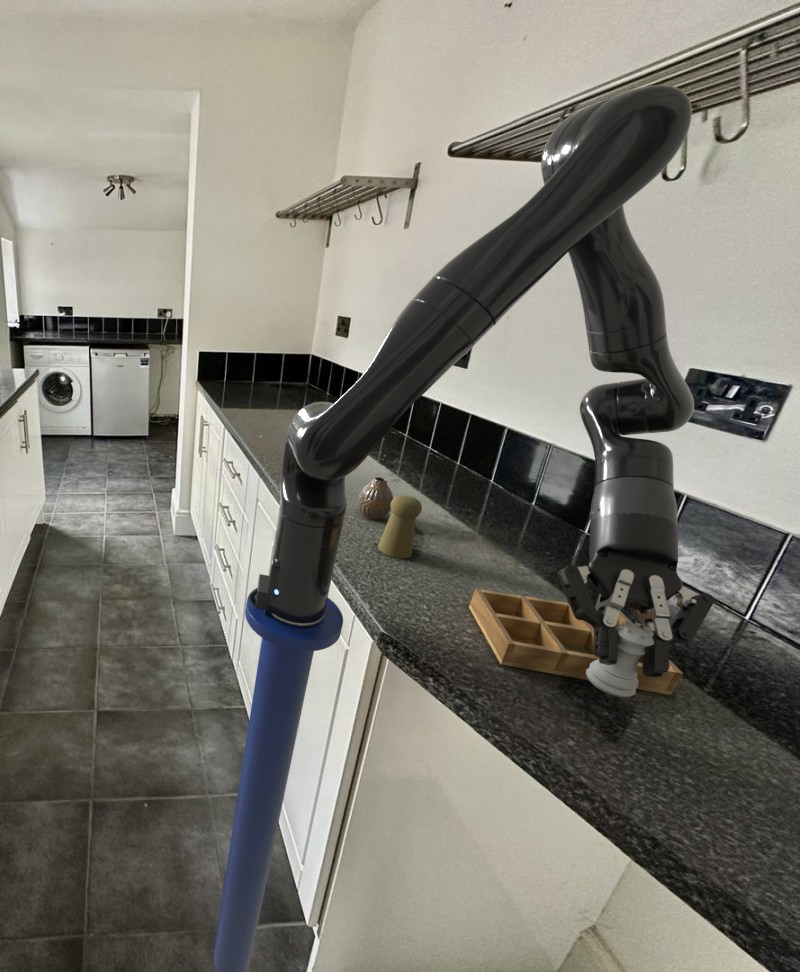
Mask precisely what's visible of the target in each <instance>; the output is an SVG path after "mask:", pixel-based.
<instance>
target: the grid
mask: <svg viewBox="0 0 800 972" xmlns="http://www.w3.org/2000/svg"><path fill="white" fill-rule="evenodd" d="M468 609H469V611H470V612H471V614H472V616H473V618H474V619H475V621H476V623H477V624H478V626H479V628H480V630H481V632H482V633H483V635H484V637H485V639H486V641H487V643H488V645H489V646H490V648H491V650H492V652H493V654H494V655H495V657H496V659H497V661H498V662H499V664H500V665H502V666H507V667H513V668H519V669H522V670H523V669H524V670H528V671H529V670H530V671H535V672H541V673H545V674H551V675H557V676H562V677H569V678H574V679H579V680H584V681H589V679H588V677H587V675H586V669H588V668H589V667H590V663H592V662H593V661H595V660H598V659H599V657H595V655H594V652H593V647H594V629H593V627H592V626H591V625H590V624H589V623H587V622H585V621H583V620H578V619H576V618H575V617H574V614H573V612H572V610H571V607H570V605H569V602H565V601H558V600H553V599H546V598H539V597H533V596H528V595H527V596H526V595H519V594H512V593H506V592H499V591H493V590H486V589H480V588H474V591H473V594H472V597H471V599H470V603H469V606H468ZM625 621H631V620H630V619H629V618H628V617H627V616H626V615H625V614H624V613H623V612H622V610H621V611H620V614H619V617H618V621H617V624H616V626H614V629H615V627H617V626H619V625H622V623H623V622H625ZM634 624H635V623H634V622H632V623H631V625H634ZM636 673H637V679H638V688H636V690H641V691H645V692H652V693H656V694H662V695H667V696H672V694H673V692H674V691H675V689H676V687H677V686H678V684H679V682H680V681H681V679H682V677H683V675H684V673H683V671H681V669H679V668H678V667H677V666H676V665H675V664H674V663H673V662H672V661H671V659H669V669H668V671H667V672H663V675H662V676H659V677H650V676H647V675H644V674H643V655H641V657H640V659H639V661H638V665H637V668H636Z"/></svg>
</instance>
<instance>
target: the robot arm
mask: <svg viewBox="0 0 800 972" xmlns="http://www.w3.org/2000/svg"><path fill="white" fill-rule="evenodd" d="M692 115H693V110H692V102H691V100H690V98H689V96H688V94H686V92H684V91H683V90H682V89H680V88H678V87H676V86H673V85H667V84H656V85H655V84H654V85H647V86H646V85H645V86H641V87H637V88H634V89H630V90H626V91H624V92H621V93H618V94H616V95H614V96H611V97H607V98H606V99H603V100H601V101H598V102H596V103H594V104H591V105H588V106H586V107H584V108H581V109H578V110H577V111H575V112H573V113H572V114H570V115H569V116H568V117H565V119H564V120H562V121H561V122H560V123H559V124H558V125H557V127H555V128H554V129H553V131H552V133H551V134H550V135H549V137H548V139H547V141H546V143H545V146H544V148H543V150H542V155H541V160H540V171H541V177H542V182H543V185H542V186H541V187H540V189H539V190H538V191H537V192H536V193H535V194H534V195H533V196H532V197H531V198H530V199H529V200H528V201H527V202H525V204H523V205H522V206H521V207H520V208H519V209H518V210H516V211H515V212H514V213H513V214H511V215H510V216H509V217H507V218H506V219H505V220H503V221H501V223H499V224H497V226H495V227H494V228H492V229H490V230H489V231H488V232H486V233H485V234H484V235H482V236H481V237H479V238H478V239H477V240H475V241H474V242H472V243H471V244H470V245H468V246H467V247H466V248H464V249H463V250H462V251H460V252H459V253H458V254H457V255H455V256H454V257H453V258H452V259H450V261H448V262H447V263H446V264H445V265H443V266H442V267H441V268H440V269H439V270H438V271H437V272H436V273H435V274H434V275H433V276H432V277H431V279H429V280H428V282H426V284H425V285H424V286H423V287H422V288H421V289H420V290H419V291H418V292H417V293H416V294H415V295H414V297H413V298H412V299H411V300H410V301H409V302H408V304H406V306H405V307H404V308H403V309H402V311H401V312H400V313H399V315H398V316H397V317H396V319H395V320H394V322H393V323H392V325H391V327H390V328H389V330H388V331H387V333H386V335H385V337H384V339H383V341H382V343H381V344H380V346H379V348H378V350H377V352H376V353H375V355H374V357H373V359H372V361H371V362H370V364H369V365H368V367H367V368H366V370H365V371H364V372H363V374H362V375H361V376H360V377H359V378H358V380H357V381H355V382H354V384H353V385H352V386H351V387H350V388H348V390H347V391H346V392H344V394H342V396H341V397H339V399H337V401H335V402H330V401H315V402H312V403H309V404H307V405H305V406H303V407H302V408H301V409H299V410H298V412H296V414H294V416H293V417H292V419H291V420H290V423H289V426H288V428H287V432H286V436H285V444H284V450H283V459H282V465H281V466H282V467H281V474H280V475H281V476H280V483H279V485H280V500H279V507H278V508H279V509H278V515H277V521H276V528H275V534H274V540H273V541H274V542H273V545H272V549H271V556H270V560H269V568H268V574H262V573H259V574H258V581H257V587H256V588H257V589H256V588H254V589H255V590H254V589H253V590H251V592H250V593H249V594H250V600H251V602H252V603H253V605H254V606H256V608H262V609H264V615H265V616H270V617H272V618H274V619H275V620H277V621H279V622H280V623H283V624H285V625H288V626H292V627H298V628H308V627H313V626H316V625H318V624H320V623H321V622H322V621H323V619H324V616H325V609H326V603H327V598H329V592H330V588H331V584H332V578H333V573H334V569H335V564H336V560H337V554H338V550H339V544H340V540H341V535H342V530H343V525H344V521H345V516H346V511H347V506H348V505H347V497H346V484H345V483H346V476H348V475H350V474H351V473H352V472H354V471H355V470H356V469H357V468H358V467H359V466H361V464H362V463H363V462H364V461H365V460H366V459H367V457H369V456H370V454H371V453H372V452H373V450H374V449H375V448H376V447H377V445H378V444H379V443H380V442H381V441H382V440H383V438H384V437H386V435H387V434H388V433H389V431H390V430H391V429H392V428H393V427H394V425H395V424H396V423H397V422H398V420H399V419H400V418H401V417H402V416H403V415H404V414H405V413H406V412H407V411H408V410H409V409H410V407H412V406H413V405H414V404H415V403H416V402H417V401H418V400H419V399H420V398H421V397H422V396H423V395H425V394H426V392H428V391H429V389H430V388H431V387H432V386H433V385H435V384H436V383H437V381H439V380H440V379H441V378H442V377H443V376H444V375H445V374H446V373H447V372H448V371H449V370H450V369H451V368H452V367H453V366H454V365H455V364H456V363H457V362H458V361H459V360H460V359H461V358H462V357H464V356H465V355H466V354H467V353H468V352H469V351H470V350H471V349H473V347H474V346H475V345H476V344H477V343H478V342H479V341H481V339H483V337H484V336H486V335H487V334H488V333H489V332H490V331H491V330H492V329H493V327H494V326H496V325H497V324H498V323H499V321H500V320H502V318H503V317H505V315H506V314H507V313H508V312H509V311H510V310H511V309H512V308H513V307H514V306H515V305H516V304H517V303H518V302H519V301H520V300H521V299H523V297H524V296H525V295H526V294H527V293H528V292H530V291H531V289H533V287H535V286H536V284H538V283H539V282H540V280H541V279H543V278H544V277H545V276H546V275H547V274H548V273H549V272H550V271H551V270H552V268H554V267H555V265H557V264H558V262H560V261H561V259H562V258H563V257H564V256H566V255H567V254H568V257H569V259H570V261H571V265H572V268H573V272H574V275H575V279H576V283H577V286H578V290H579V294H580V299H581V304H582V311H583V316H584V317H583V318H584V323H585V332H586V338H587V347H588V353H589V358H590V359H589V360H590V362H591V365H592V366H593V368H595V369H596V370H597V371H601V372H604V373H613V374H614V373H616V374H617V373H619V374H620V373H621V374H634V375H639V376H641V377H643V378H639V379H631V380H624V381H619V382H609V383H604V384H603V383H602V384H599V385H596V386H593V387H592V388H590V389H589V390H587V392H586V393H585V394H584V395H583V397H582V398H581V400H580V403H579V414H580V418H581V421H582V424H583V426H584V428H585V431H586V433H587V435H588V437H589V440H590V442H591V446H592V449H593V453H594V454H593V456H594V466H595V467H594V488H593V494H592V499H591V504H590V512H589V516H588V517H589V520H590V522H589V545H588V555H589V558H588V561H587V562H586V563H585V564H584V565H583V566H576V565H574V564H569V565H567V566H565V567H564V568H562V569H560V570H559V571H557V574H556V575H557V578H558V580H559V582H560V585H561V588H562V591H563V593H564V595H565V598H566V599H567V603H569V605H570V607H571V610H572V612H573V614H574V617H575V618H576V619H578V620H583V621H585V622H587V623H589V624H590V625H591V626H592V627H593V629H594V647H593V652H594V655H595V657H599V662H600V663H601V664H605V665H614V664H616V663H617V657H618V630H616V629H614V626H616V624H617V621H618V617H619V614H620V611H621V612H622V610H623V609H624V607H628V608H630V609H632V610H635V614H636V618H637V620H638V622H640V624H641V626H642V627H641V628H642V629H643V630H644V628H645V627H648V628H649V629H651V631H650V632H653V636H652V638H653V640H654V644H653V645H651V646H647V647H645V648H644V650H645V654H644V655H643V674H644V675H647V676H650V677H659V676H662V675H663V672H667V671H668V669H669V660H670V644H671V643H672V644H676V643H680V642H684V641H691V640H693V639H694V638H695V637H696V635H697V633H698V631H699V629H700V628H701V626H702V624H703V622H704V621H705V619H706V617H707V616H708V614H709V612H710V610H711V608H713V605H714V603H715V597H714V596H713V595H712V594H710V593H708V592H704V593H698V592H696V591H694V590H692V589H690V588H688V587H687V586H685V585H683V581H682V579H681V577H680V576H679V574H678V572H677V571H678V570H677V569H678V564H679V533H678V531H679V528H678V526H679V525H678V504H677V500H676V499H677V498H676V495H675V490H674V488H675V486H674V485H675V484H674V483H675V482H674V480H675V479H674V478H675V477H674V455H673V452H672V450H671V449H670V447H668V446H667V445H666V444H665V443H662V442H659V441H657V440H652V439H646V438H637V437H628V436H632V435H643V434H659V433H669V432H673V431H677V430H679V429H680V428H682V427H684V426H685V425H686V424H687V423H688V422H689V421H690V419H691V418H692V417H693V414H694V411H695V400H694V395H693V393H692V392H691V388H690V387H689V385H688V384H687V382H686V380H685V379H684V377H683V376H682V374H681V372H680V371H679V369H678V366H677V365H676V363H675V361H674V358H673V356H672V353H671V350H670V346H669V342H668V341H669V340H668V334H667V331H668V330H667V321H666V309H665V300H664V294H663V290H662V288H661V287H662V286H660V285H661V284H660V282H659V280H658V278H657V275H656V273H655V272H654V269H653V268H652V266H651V265H650V263H649V262H648V260H647V259H646V257H645V255H644V253H643V252H642V250H641V249H640V247H639V245H638V244H637V241H636V240H635V238H634V236H633V233H632V232H631V230H630V226H629V224H628V221H627V218H626V213H625V208H624V205H625V204H626V203H627V202H628V201H630V200H631V199H632V198H634V197H635V195H637V194H639V192H641V190H643V189H644V188H645V187H647V185H649V184H650V183H651V182H653V180H654V179H655V178H656V177H658V176H659V175H660V174H661V173H662V172H663V171H664V169H666V167H667V166H668V165H669V164H670V163H671V161H672V160H673V159H674V158H675V156H676V155H677V153H678V152H679V151H680V149H681V147H682V145H684V144H683V143H684V141H685V140H686V137H687V135H688V133H689V130H690V128H691V124H692V123H691V122H692ZM588 579H589V581H590V582H591V584H592V585H593V587H594V588H595V589H596V590H597V591H598V596H597V600H596V602H595V603H594V602H593V599H592V597H591V595H590V592H589V589H588V588H587V585H586V584H587V583H588ZM256 594H257V597H256V600H255V598H254V596H255V595H256ZM674 596H675V597H676V599H677V600H676V607H677V608H679V609H678V612H677V613H676V615H675V616H674V618H673V619H672V622H671V623H670V620H669V619H670V618H671V611H670V608H669V605H668V601H669V600H670V599H672V598H673V597H674Z"/></svg>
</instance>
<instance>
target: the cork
mask: <svg viewBox="0 0 800 972" xmlns="http://www.w3.org/2000/svg"><path fill="white" fill-rule="evenodd" d="M422 505H423V504H422V503H421V501H420V500H418V498H415V497H413V496H410V495H405V494H404V495H397V496H395V497H393V500H392V501H391V510H390V512H391V513H390V516H389V518H388V520H387V523H386V526H385V528H384V531H383V533H382V535H381V538H380V540H379V543H378V544H377V548H378V550H379V551H380V552H381V553H383V554H384V555H386V556H389V557H391V558H395V559H408V558H411V557H412V556H413V547H414V539H415V529H416V521H417V520H416V518H417V517H419V516H420V514H421V513H422V509H423V508H422V507H423V506H422Z"/></svg>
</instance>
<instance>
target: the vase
mask: <svg viewBox="0 0 800 972" xmlns="http://www.w3.org/2000/svg"><path fill="white" fill-rule="evenodd" d="M393 499H394V496H393V492H392V489H391V488H390V486H389V485H388V482H387V479H386V478H384V477H381V476H376V477H373V479H372V480H371V481H370V482H369V483H367V484H366V485H365V486H363V488H362V489H361V491H360V492H359V494H358V498H357V509H358V510H359V512H360V514H361V515H362V516H363V517H364V518H366V519H369V520H375V521H377V520H382V519H384V518H385V517H387V516H388V515H389V513H390V512H391V501H392V500H393Z"/></svg>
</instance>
